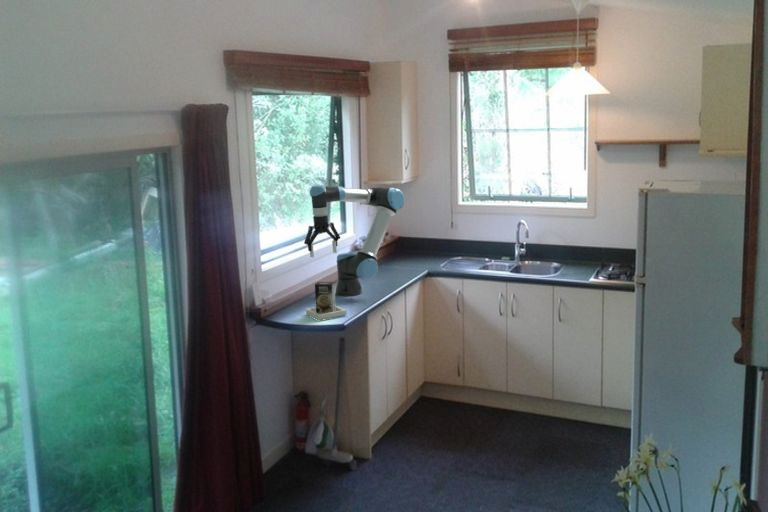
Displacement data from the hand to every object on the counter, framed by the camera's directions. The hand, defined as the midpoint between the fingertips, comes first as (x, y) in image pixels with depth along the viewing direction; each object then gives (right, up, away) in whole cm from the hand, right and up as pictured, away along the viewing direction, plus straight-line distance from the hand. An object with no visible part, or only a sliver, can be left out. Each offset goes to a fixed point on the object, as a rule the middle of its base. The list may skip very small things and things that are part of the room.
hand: (323, 254), depth 392 cm
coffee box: (+2, -30, -14) cm, 33 cm away
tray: (+2, -31, -14) cm, 34 cm away
